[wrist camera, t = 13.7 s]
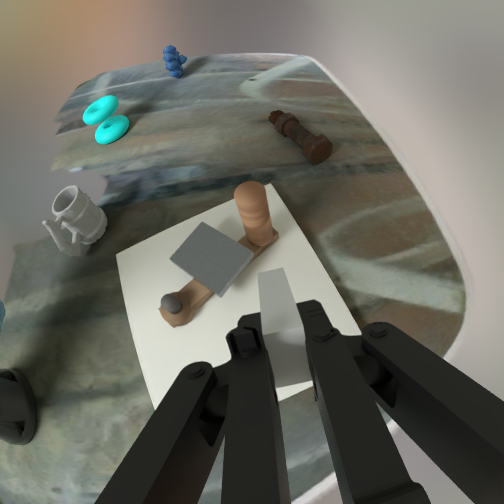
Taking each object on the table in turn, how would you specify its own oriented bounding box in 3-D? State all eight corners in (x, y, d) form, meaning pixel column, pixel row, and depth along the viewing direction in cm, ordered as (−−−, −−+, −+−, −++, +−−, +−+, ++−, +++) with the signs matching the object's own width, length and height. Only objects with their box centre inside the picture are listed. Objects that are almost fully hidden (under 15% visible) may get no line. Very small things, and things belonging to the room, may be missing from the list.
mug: (114, 211, 52) (81, 170, 42) (95, 266, 47) (53, 231, 36) (86, 213, 53) (53, 177, 43) (67, 265, 48) (27, 233, 38)
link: (176, 332, 37) (137, 308, 28) (159, 309, 39) (119, 279, 30) (282, 240, 41) (276, 192, 32) (261, 222, 43) (250, 173, 34)
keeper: (182, 274, 43) (169, 258, 39) (211, 239, 45) (201, 221, 41) (227, 307, 40) (218, 294, 35) (258, 268, 42) (253, 251, 37)
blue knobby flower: (190, 82, 72) (179, 47, 62) (168, 88, 73) (155, 54, 63) (193, 66, 78) (184, 35, 68) (173, 71, 79) (162, 41, 68)
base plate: (171, 439, 32) (166, 440, 30) (120, 258, 46) (115, 254, 45) (369, 355, 34) (372, 353, 32) (271, 189, 48) (270, 183, 47)
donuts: (102, 114, 54) (74, 121, 56) (120, 144, 63) (92, 148, 65) (122, 90, 59) (94, 97, 61) (137, 119, 67) (109, 123, 70)
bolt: (279, 128, 59) (324, 166, 51) (260, 126, 56) (304, 166, 48) (288, 104, 55) (337, 139, 47) (269, 101, 52) (317, 137, 44)
